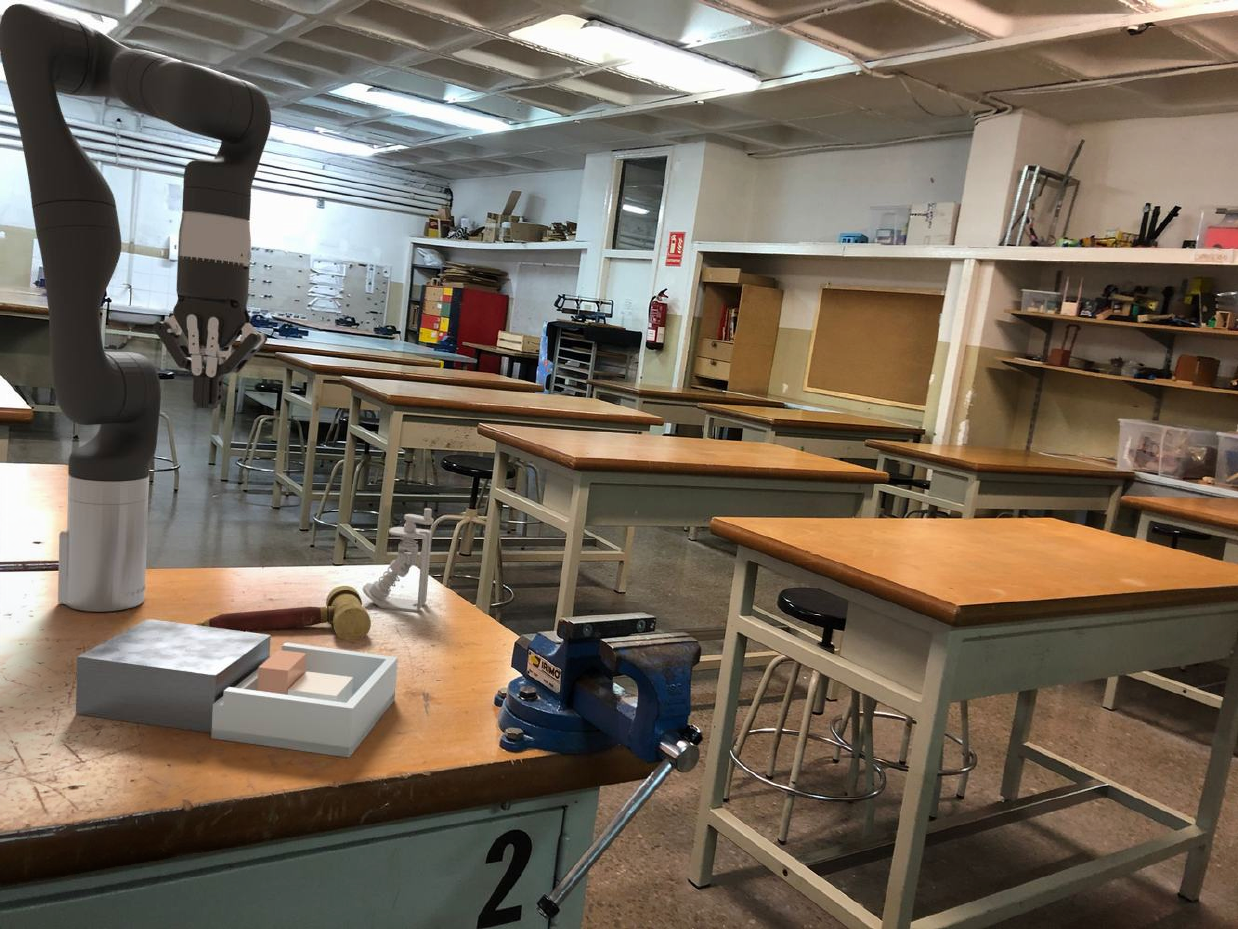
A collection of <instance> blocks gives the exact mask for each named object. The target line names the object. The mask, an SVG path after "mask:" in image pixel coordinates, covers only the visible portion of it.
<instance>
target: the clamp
mask: <svg viewBox="0 0 1238 929" xmlns="http://www.w3.org/2000/svg"><path fill="white" fill-rule="evenodd" d="M432 511H433V510H432V509H431V508H427V507H425V508H424V509H423V515H419V514H414V513H406V514H404V517H403V518H404V520H405V523H404V524H403V526H394V527H391V528H390V529H389V530H388V533H389V534H390V535H393V536H397V537H399V538H400V540H401V541H400V542H399V543H398V549H397V558H396V559H393V560H391V562H390V563H389V566H388V568H387V570H385V571H384V572H383V574H382V575H383V576H379V578H378V580H377V581H374V582H373V583H371V582H367V583H366V584H365V585H364V586H362V592H363V593H364V594H365V596H366V597H367V598H368V599H370V600H371V601H372V602H373V603H374V604H376V606H378V607H379V608H381V609H390V610H397V611H398V610H399V611H405V612H415V613H418V612H419V611H420V610H421V608H422V607H423V606H424V605H425V604H426V602H427V596H428V584H429V583H428V582H429V571H430V559H431V547H432V536H433V533H432V531H431V530H430V529H425V528H418V527H417V525H416V524H421V525H425V526H427V525H428V526H429V525H433V524H434V518H432V514H433V512H432ZM402 537H403V538H402ZM416 539H422V541H421V542H422V543H421V544H422V546H421V555H420V568H419V578H418V579H419V580H418V592H417V600H416V599H408V598H402V597H401V598H399V597H390V596H389V595H390V594H391V591H392V590H391V589H392V588H391V587H396V582H400V581H401V579H400V578H399V577H401V578H404V577H406V576H407V575H408V574H409V571H410V569H411V567H413V566H416V565H417V564H418V554H419V544H417V543H418V542H419V541H418V540H416ZM405 551H406V552H405ZM407 551H408V552H410V553H407ZM390 570H391V571H390Z"/></svg>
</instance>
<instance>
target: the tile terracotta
mask: <svg viewBox="0 0 1238 929" xmlns="http://www.w3.org/2000/svg"><path fill="white" fill-rule="evenodd" d="M305 665H306V653H300V652H291V651H283V650H282V649H278V650H277V651H275V652H274V653H272V655H270V658H268V659H267V660H266V661H265V662H264V663H263V664H262V665H260V666H259V667H258V685H257V691H263V692H270V693H277V694H285V695H287V693H288V689H289V688H290V687H291V686H292V685H293V684H294V683H295V682H296V681H297V680H298V679H299V678H300V677H302V676H303V675H304V674H305Z"/></svg>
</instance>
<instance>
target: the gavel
mask: <svg viewBox="0 0 1238 929" xmlns="http://www.w3.org/2000/svg"><path fill="white" fill-rule="evenodd" d="M327 623H329V624H330V623H332V626H333V628H334V631H335V634H336V636H337V637H338V638H339V639H341V640H360V639H363V638H364V637H366V636H367V634H369V632H370V630H371V626H372V625H371V624H372V620H371V617H370V615H369V613H368V611H367V609H366V608H365V607H364V606H363V601H362V598H361V595H360V594H359V592H358V591H357V590H356V588H354V587H352V586H349V585H340V586H337V587H335V588H333V589H332V590H331V591H330V592H329V593H328V595H327V596H326V601H325V606H319V607H318V606H304V607H303V606H301V607H290V608H277V609H276V608H275V609H265V610H253V611H244V612H242V611H241V612H230V613H221V614H219V615H216V616H214V617H210V618H207V619H204V622H201V621H198V622H196V623H194V625H198V626H206V627H213V628H221V629H228V630H236V631H245V632H257V631H258V630H260V631H269V630H270V631H271V630H282V629H291V628H292V629H293V628H300V627H301V628H302V627H311V626H316V625H321V624H327Z"/></svg>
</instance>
